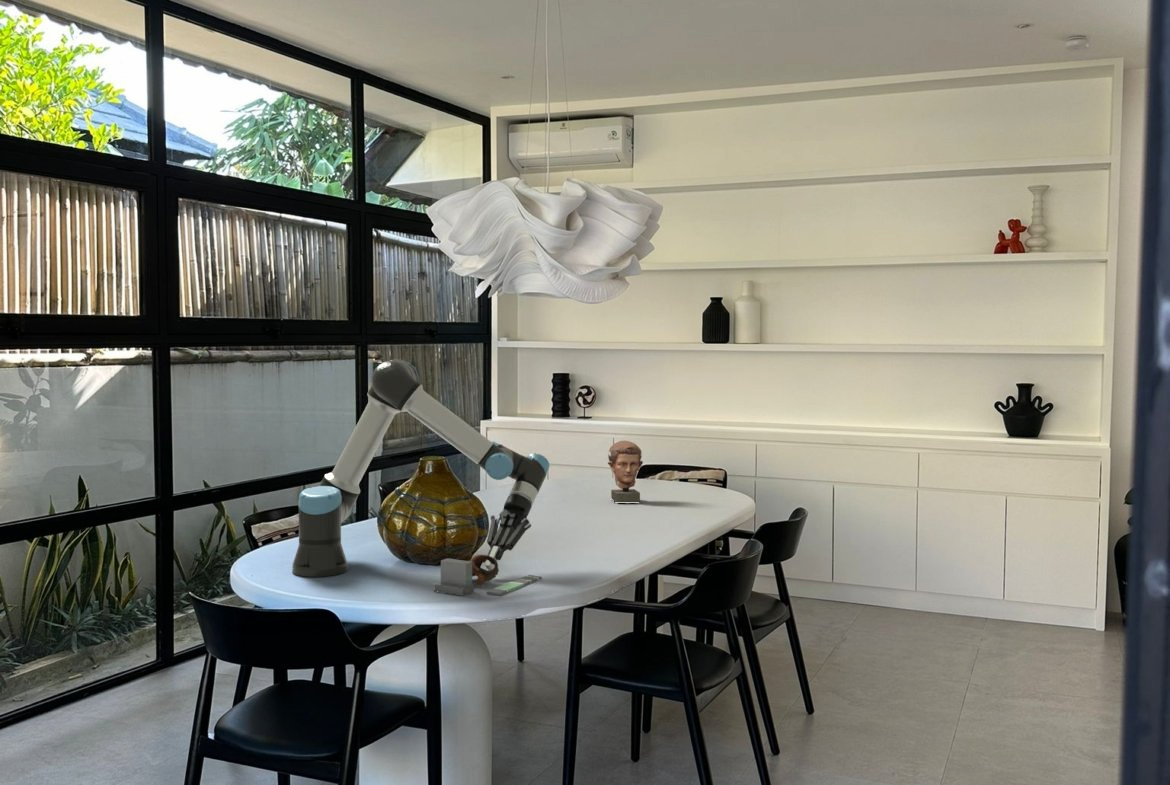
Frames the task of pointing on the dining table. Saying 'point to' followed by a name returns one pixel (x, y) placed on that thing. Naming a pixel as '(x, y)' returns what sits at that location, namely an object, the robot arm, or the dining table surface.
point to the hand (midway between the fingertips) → (488, 568)
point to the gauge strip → (513, 585)
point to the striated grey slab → (455, 577)
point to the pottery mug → (482, 573)
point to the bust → (625, 470)
